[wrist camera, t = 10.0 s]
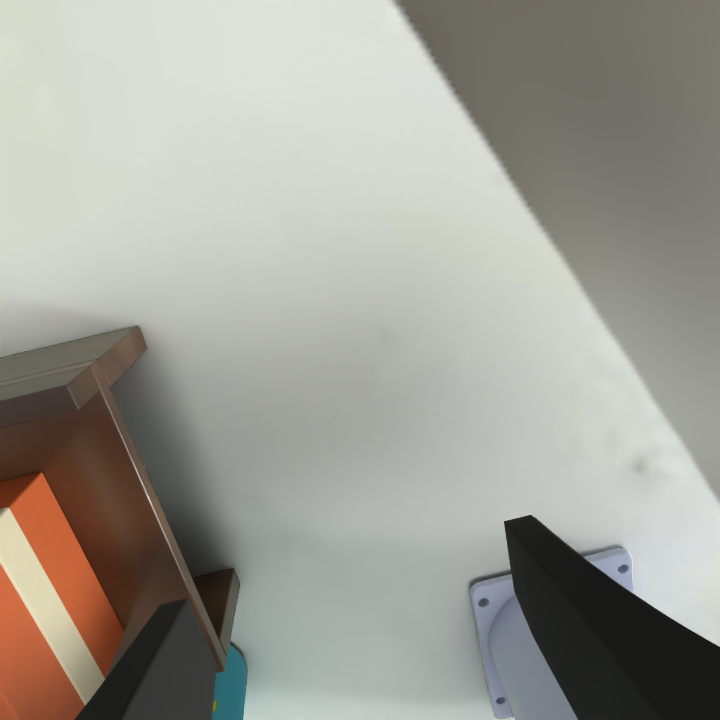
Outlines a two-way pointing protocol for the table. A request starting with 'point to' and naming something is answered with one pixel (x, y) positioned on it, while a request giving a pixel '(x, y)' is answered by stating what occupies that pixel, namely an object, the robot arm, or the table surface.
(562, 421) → the table surface
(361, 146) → the table surface
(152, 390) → the table surface
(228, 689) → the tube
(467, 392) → the table surface
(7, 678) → the snack box
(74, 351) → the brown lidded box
